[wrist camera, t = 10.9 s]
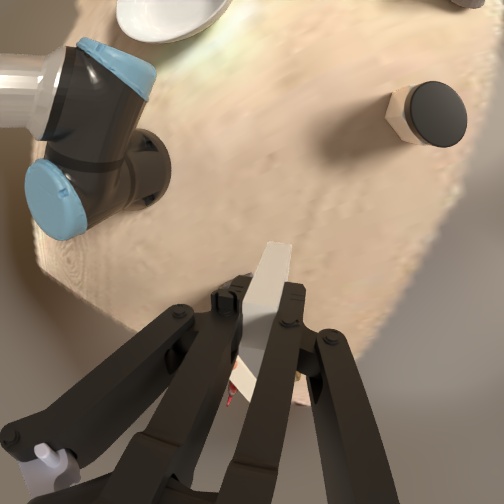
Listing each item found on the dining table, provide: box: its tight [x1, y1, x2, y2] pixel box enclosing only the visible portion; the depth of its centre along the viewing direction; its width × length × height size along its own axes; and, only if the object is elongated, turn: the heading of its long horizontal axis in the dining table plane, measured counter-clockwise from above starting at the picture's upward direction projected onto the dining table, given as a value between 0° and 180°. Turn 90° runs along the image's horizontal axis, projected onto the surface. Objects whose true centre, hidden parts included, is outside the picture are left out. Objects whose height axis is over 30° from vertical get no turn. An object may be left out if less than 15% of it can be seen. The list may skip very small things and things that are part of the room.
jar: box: [385, 81, 467, 148], centre depth 29 cm, size 9×8×12 cm
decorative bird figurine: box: [227, 380, 238, 406], centre depth 61 cm, size 3×18×10 cm, turn 166°
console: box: [223, 273, 265, 402], centre depth 49 cm, size 6×22×17 cm, turn 29°
